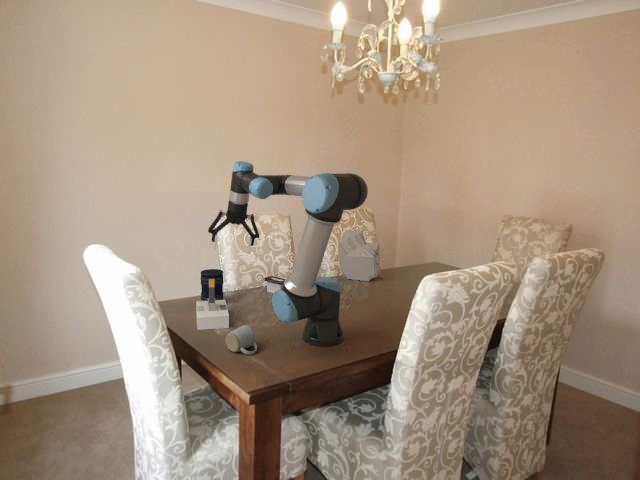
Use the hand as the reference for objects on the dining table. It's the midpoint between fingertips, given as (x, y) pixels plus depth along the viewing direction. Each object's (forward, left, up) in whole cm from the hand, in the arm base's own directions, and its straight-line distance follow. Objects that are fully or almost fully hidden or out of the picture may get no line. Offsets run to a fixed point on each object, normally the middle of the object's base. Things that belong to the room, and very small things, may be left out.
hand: (231, 250), depth 189 cm
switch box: (-3, +8, -28) cm, 29 cm away
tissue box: (+47, -74, -28) cm, 92 cm away
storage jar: (+17, +7, -28) cm, 33 cm away
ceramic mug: (-35, -1, -28) cm, 45 cm away
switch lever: (-3, +8, -22) cm, 23 cm away
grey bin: (+30, -24, -28) cm, 47 cm away
